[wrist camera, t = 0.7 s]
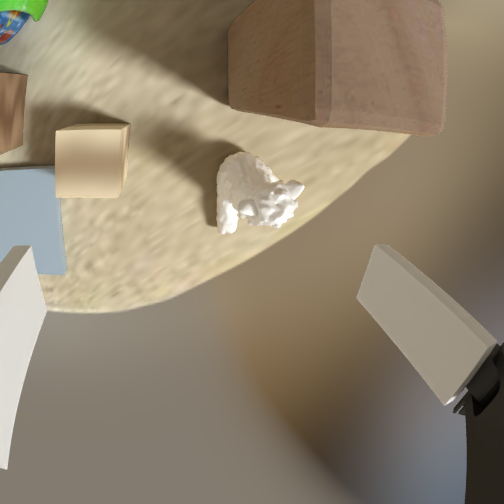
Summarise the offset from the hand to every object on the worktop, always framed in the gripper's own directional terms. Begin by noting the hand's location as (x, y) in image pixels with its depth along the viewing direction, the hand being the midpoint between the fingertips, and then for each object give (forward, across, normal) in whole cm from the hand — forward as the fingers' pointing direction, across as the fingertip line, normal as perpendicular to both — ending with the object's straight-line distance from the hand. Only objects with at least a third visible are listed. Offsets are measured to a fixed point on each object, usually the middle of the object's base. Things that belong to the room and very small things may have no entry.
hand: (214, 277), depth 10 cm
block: (+24, +9, +11) cm, 28 cm away
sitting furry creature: (+24, +7, -3) cm, 25 cm away
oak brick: (+24, -9, 0) cm, 25 cm away
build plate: (+24, -20, -7) cm, 32 cm away
